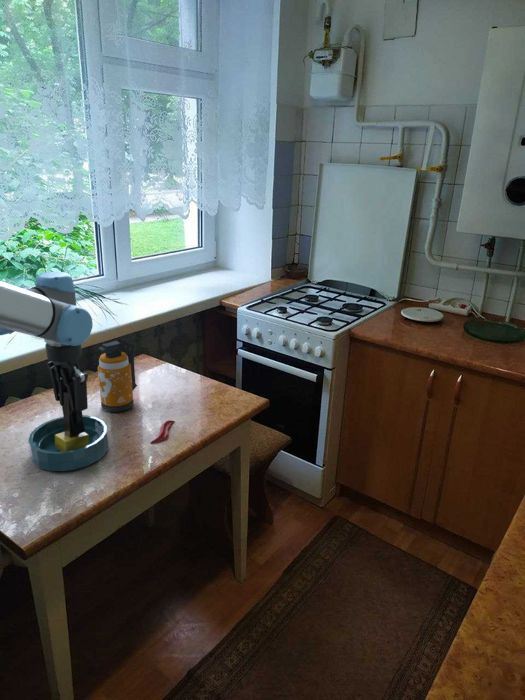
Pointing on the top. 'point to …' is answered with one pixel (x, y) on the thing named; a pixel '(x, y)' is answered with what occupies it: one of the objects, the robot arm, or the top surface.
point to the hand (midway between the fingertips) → (74, 430)
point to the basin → (67, 460)
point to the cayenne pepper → (163, 431)
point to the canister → (116, 375)
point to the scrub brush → (69, 432)
